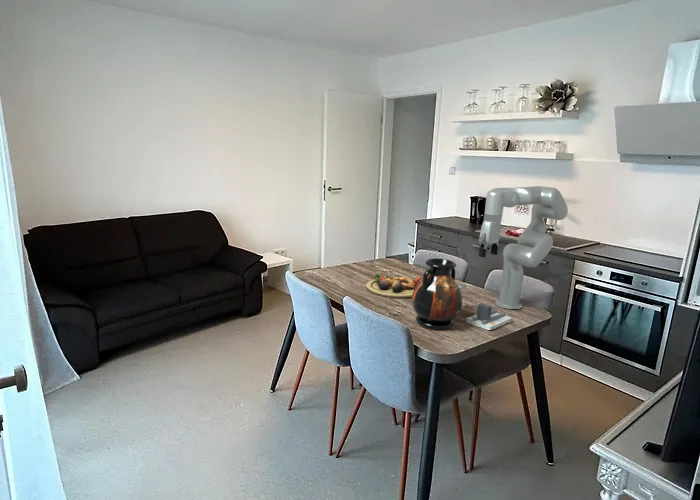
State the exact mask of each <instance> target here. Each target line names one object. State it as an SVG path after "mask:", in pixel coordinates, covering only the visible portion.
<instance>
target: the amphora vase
mask: <svg viewBox="0 0 700 500" xmlns="http://www.w3.org/2000/svg"><path fill="white" fill-rule="evenodd" d="M424 263H425V265H426V266H428V267H429V269H426V270H425V271H424V272H423V275H422V279H421V280H420V281H419V282H418V284H417V285H416V287H415V289H414V292H413V295H412V298H411V305H412V309H413V311H414V313H416V317H415V321H416V322H417V324H418V325H419V326H421V327H424V328H425V329H429V330H437V331H442V330H443V331H445V330H448V329H451V328H453V326H454V324H455V321H454V320H455V319H457V317H458V316H459V314H460V313H461V312H462V308H463V296H462V295H463V294H462V291H460V288H459V286H460V285H459V284H458V283H456V281H455V280H456V269H455V268H456V267H457V264H456V262H454V261H452V260H450V259H446V258H428V259H426V260H425V262H424Z"/></svg>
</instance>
